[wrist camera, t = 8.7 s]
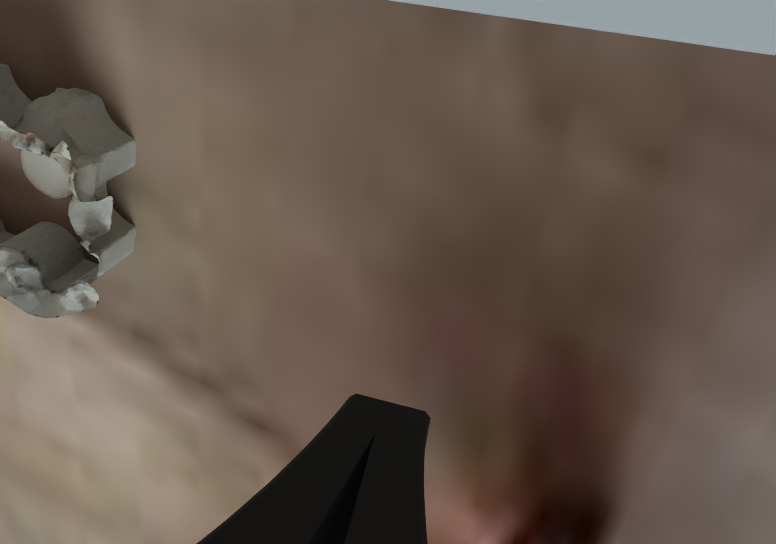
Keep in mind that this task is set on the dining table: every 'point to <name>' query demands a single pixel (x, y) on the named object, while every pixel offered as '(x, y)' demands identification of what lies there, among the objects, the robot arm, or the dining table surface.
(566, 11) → the gauge bed
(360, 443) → the robot arm
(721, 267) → the dining table surface
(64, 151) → the egg carton
